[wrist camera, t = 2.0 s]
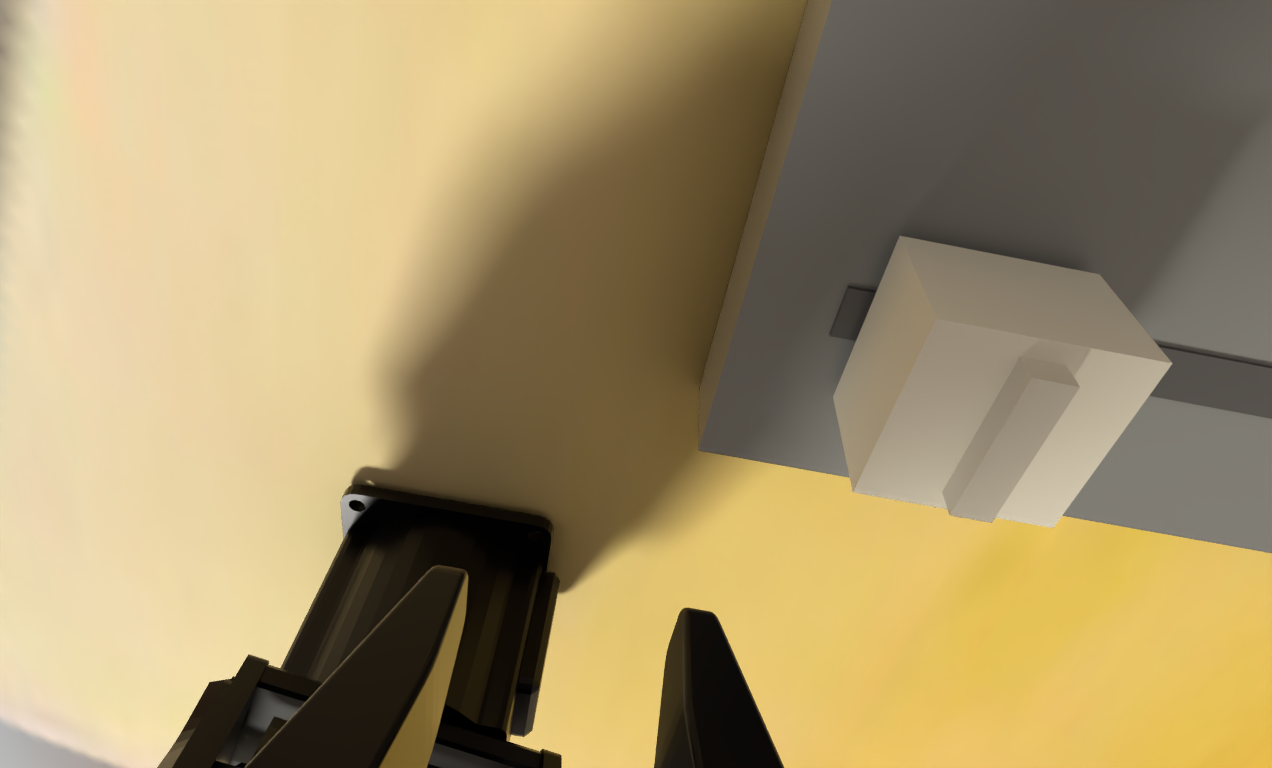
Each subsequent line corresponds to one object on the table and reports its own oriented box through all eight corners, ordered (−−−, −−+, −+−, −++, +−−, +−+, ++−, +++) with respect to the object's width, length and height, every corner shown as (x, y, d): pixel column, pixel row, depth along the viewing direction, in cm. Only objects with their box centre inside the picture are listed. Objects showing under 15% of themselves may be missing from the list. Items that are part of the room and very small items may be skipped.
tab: (832, 396, 17) (857, 515, 15) (899, 235, 15) (945, 339, 12) (1006, 428, 18) (1064, 552, 15) (1099, 274, 15) (1190, 385, 12)
